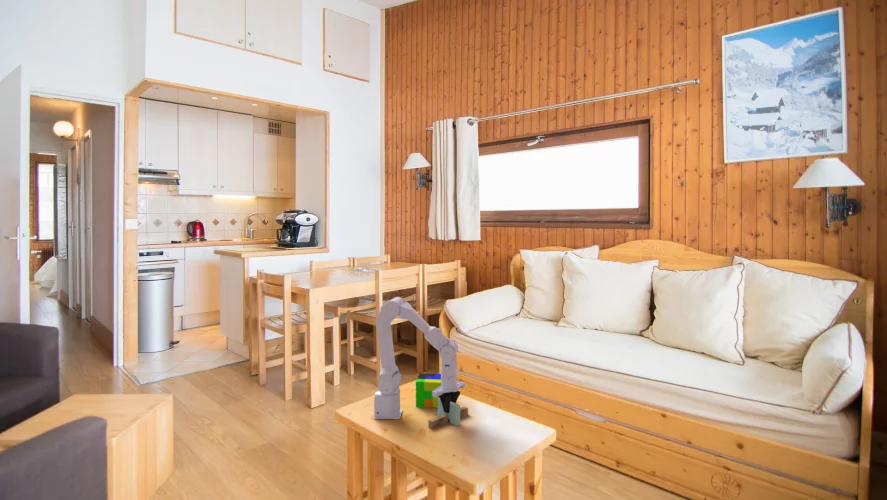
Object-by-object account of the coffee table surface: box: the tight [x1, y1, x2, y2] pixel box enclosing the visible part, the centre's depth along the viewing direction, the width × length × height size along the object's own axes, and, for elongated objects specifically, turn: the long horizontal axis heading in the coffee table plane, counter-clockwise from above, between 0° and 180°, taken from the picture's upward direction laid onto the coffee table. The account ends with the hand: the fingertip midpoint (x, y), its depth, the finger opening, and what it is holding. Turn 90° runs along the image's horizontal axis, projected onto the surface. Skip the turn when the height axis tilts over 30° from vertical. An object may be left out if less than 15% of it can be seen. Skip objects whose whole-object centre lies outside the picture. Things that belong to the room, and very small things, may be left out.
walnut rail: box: [427, 405, 469, 430], centre depth 169 cm, size 18×2×3 cm, turn 132°
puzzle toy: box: [415, 372, 441, 408], centre depth 186 cm, size 10×10×10 cm
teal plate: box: [437, 398, 461, 427], centre depth 169 cm, size 10×2×7 cm, turn 43°
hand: (448, 411), depth 169 cm, fingers closed on teal plate, 2 cm apart
